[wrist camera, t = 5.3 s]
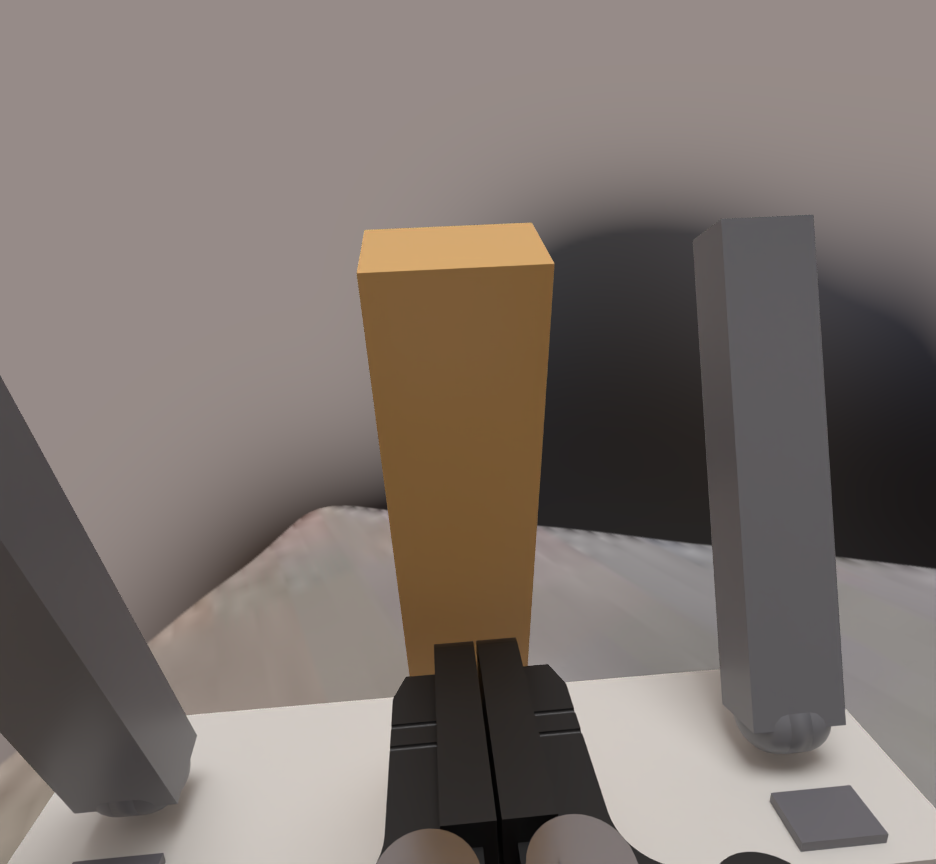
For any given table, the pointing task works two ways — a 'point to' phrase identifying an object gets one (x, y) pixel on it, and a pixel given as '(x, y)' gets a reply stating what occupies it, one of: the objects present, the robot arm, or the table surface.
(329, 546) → the table surface
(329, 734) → the lever base
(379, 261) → the lever middle
